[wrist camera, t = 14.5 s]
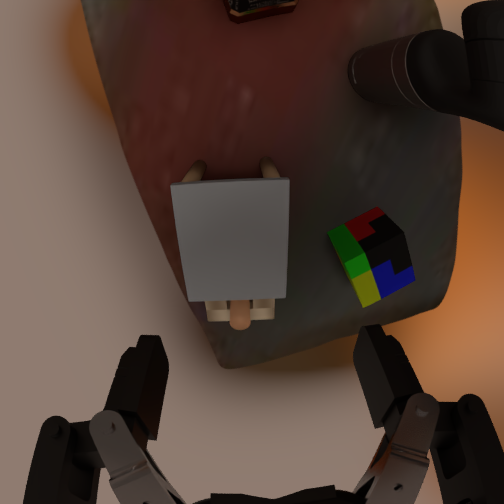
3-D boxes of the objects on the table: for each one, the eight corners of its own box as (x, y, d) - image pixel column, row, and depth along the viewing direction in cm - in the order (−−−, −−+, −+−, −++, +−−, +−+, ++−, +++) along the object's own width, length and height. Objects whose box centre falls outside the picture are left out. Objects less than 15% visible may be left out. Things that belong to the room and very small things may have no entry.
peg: (248, 277, 53) (250, 314, 44) (248, 291, 55) (250, 329, 46) (230, 278, 53) (229, 315, 44) (231, 292, 55) (230, 330, 46)
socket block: (273, 217, 48) (275, 228, 44) (272, 304, 56) (274, 318, 53) (198, 221, 47) (195, 231, 44) (209, 307, 56) (208, 321, 53)
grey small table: (276, 156, 43) (289, 179, 31) (275, 250, 51) (285, 297, 39) (189, 160, 42) (170, 185, 31) (199, 253, 50) (188, 301, 39)
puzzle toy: (391, 250, 52) (415, 280, 43) (346, 274, 54) (363, 308, 45) (377, 206, 47) (403, 231, 38) (326, 232, 49) (344, 263, 41)
